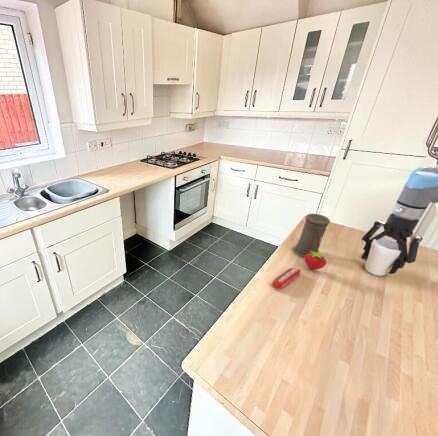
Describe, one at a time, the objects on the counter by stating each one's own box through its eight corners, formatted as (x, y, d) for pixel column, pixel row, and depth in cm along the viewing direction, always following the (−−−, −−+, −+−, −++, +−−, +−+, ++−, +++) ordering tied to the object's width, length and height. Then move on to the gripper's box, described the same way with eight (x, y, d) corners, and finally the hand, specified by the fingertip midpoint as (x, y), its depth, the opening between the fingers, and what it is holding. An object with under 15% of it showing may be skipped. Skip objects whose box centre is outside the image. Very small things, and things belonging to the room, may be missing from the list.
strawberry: (318, 278, 95) (327, 258, 90) (298, 269, 100) (305, 249, 95) (324, 271, 98) (332, 251, 93) (304, 262, 103) (311, 243, 99)
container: (297, 257, 107) (309, 222, 98) (292, 245, 114) (302, 212, 106) (320, 260, 105) (334, 224, 96) (313, 248, 112) (326, 214, 104)
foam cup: (378, 280, 93) (394, 253, 87) (354, 265, 101) (367, 239, 95) (396, 275, 95) (412, 248, 89) (371, 261, 103) (385, 235, 97)
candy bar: (291, 270, 100) (293, 264, 98) (300, 274, 97) (302, 269, 95) (269, 286, 92) (270, 280, 90) (278, 292, 89) (280, 286, 88)
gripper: (365, 204, 94) (343, 251, 105) (438, 232, 76) (403, 285, 87) (378, 202, 96) (356, 248, 107) (453, 228, 78) (417, 281, 89)
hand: (377, 264), depth 97 cm, fingers closed on foam cup, 9 cm apart
